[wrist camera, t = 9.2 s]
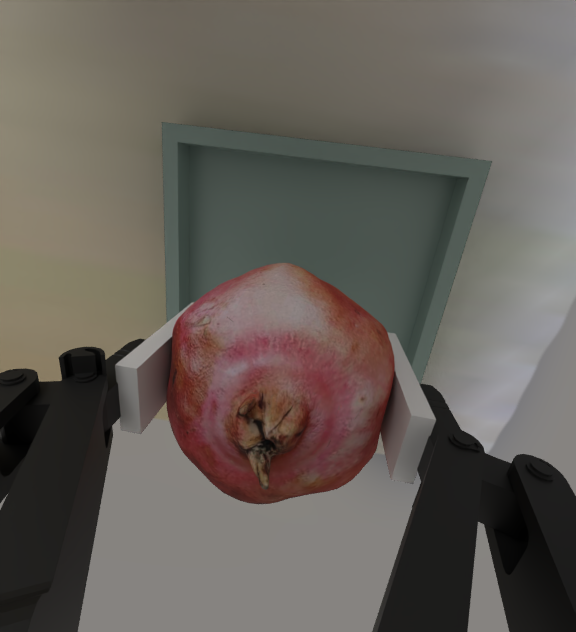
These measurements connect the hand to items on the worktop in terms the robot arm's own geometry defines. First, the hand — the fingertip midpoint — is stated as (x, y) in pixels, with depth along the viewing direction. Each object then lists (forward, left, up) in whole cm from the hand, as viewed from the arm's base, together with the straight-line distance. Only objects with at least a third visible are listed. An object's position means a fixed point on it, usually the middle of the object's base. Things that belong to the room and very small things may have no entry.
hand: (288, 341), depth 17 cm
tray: (0, 0, -10) cm, 10 cm away
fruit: (0, 0, -1) cm, 1 cm away
